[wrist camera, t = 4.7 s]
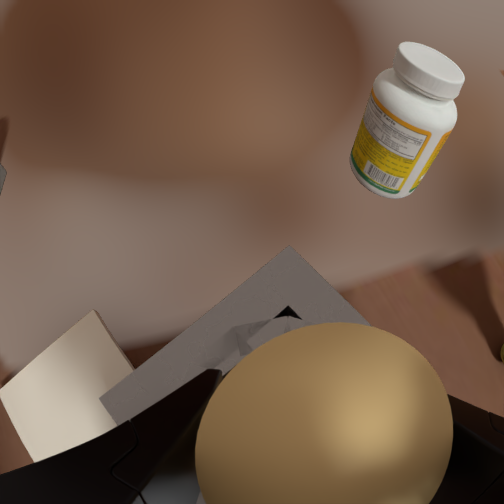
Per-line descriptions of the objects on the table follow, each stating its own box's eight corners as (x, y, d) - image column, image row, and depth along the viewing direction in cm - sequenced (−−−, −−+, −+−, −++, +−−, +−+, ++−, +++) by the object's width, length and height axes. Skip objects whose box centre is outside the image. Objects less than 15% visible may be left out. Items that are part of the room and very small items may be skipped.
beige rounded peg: (275, 478, 13) (319, 597, 3) (212, 414, 14) (138, 440, 4) (343, 418, 14) (488, 427, 4) (282, 356, 16) (339, 271, 6)
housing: (268, 559, 10) (270, 576, 9) (114, 399, 14) (98, 398, 13) (431, 409, 14) (450, 408, 12) (285, 261, 18) (289, 244, 16)
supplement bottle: (364, 205, 20) (419, 84, 11) (337, 145, 22) (367, 30, 13) (428, 197, 20) (492, 96, 12) (398, 142, 22) (440, 42, 14)
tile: (81, 518, 11) (76, 521, 10) (3, 392, 14) (-3, 391, 13) (196, 445, 14) (194, 446, 13) (97, 312, 16) (93, 309, 16)
